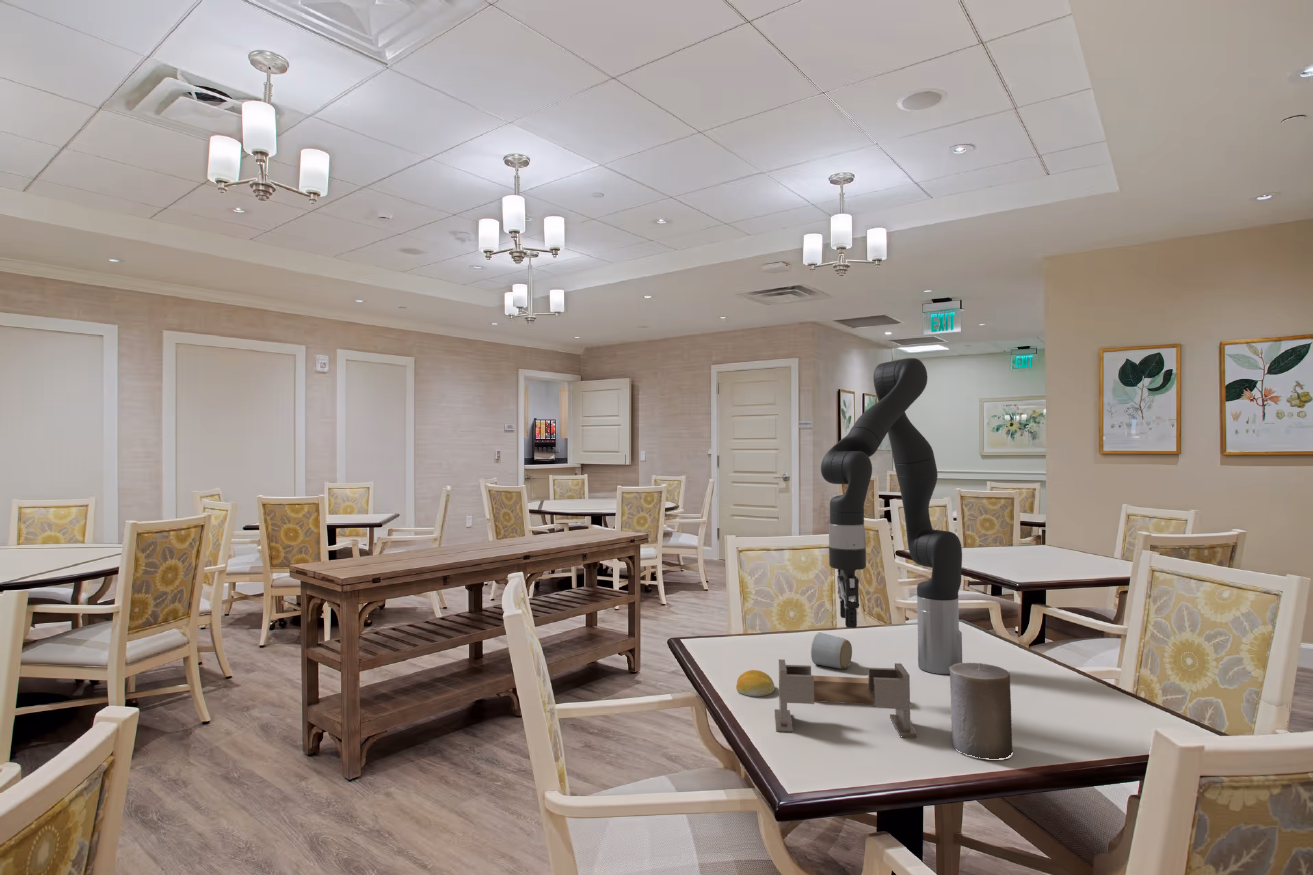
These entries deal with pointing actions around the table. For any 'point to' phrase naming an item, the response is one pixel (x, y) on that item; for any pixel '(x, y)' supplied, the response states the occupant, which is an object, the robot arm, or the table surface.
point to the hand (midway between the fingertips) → (848, 622)
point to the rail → (842, 689)
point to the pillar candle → (981, 710)
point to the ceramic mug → (831, 651)
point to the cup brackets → (883, 689)
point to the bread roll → (755, 683)
